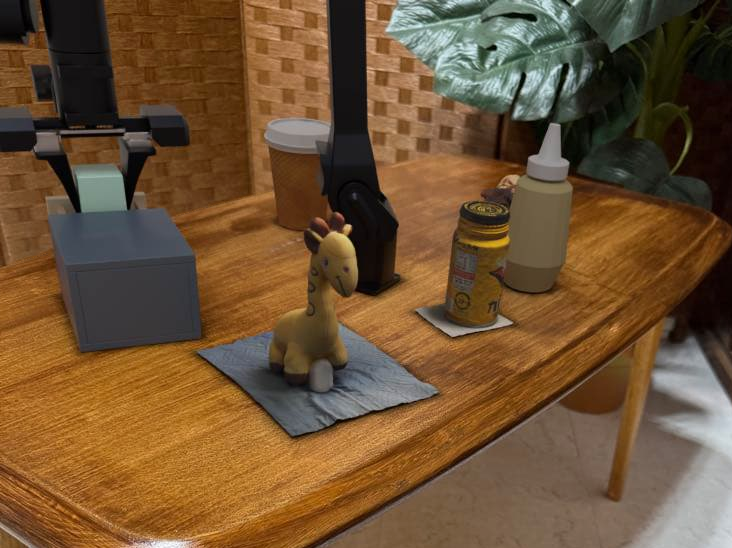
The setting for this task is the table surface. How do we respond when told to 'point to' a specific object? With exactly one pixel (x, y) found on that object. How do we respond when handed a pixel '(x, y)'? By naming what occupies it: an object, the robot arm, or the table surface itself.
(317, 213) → the disposable coffee cup
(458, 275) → the condiment
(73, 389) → the table surface
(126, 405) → the table surface
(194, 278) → the cabinet
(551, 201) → the squeeze bottle
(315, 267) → the stuffed giraffe
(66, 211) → the drawer
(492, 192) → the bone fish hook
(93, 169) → the block
